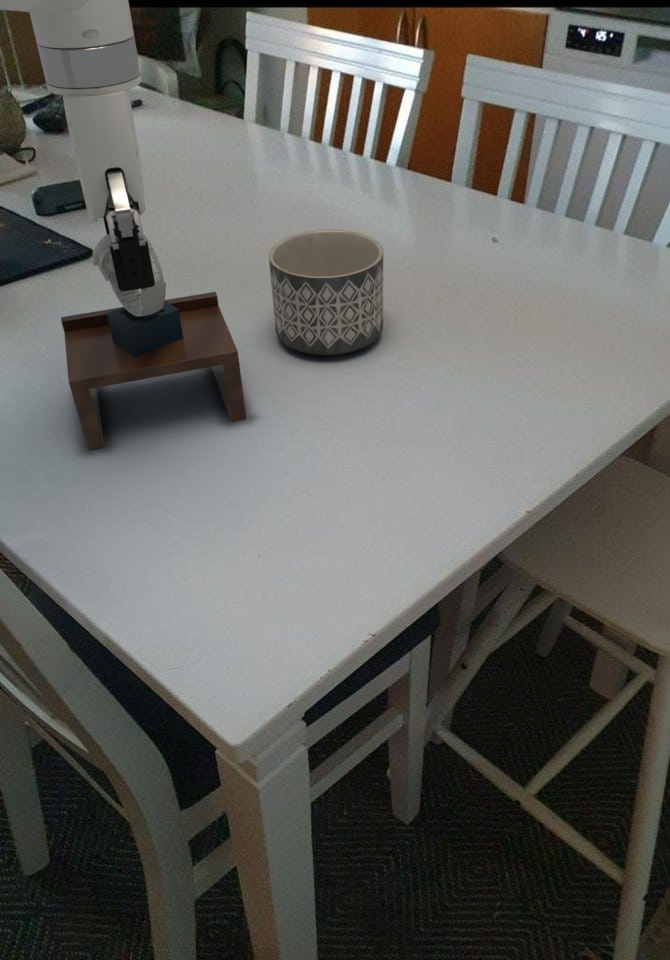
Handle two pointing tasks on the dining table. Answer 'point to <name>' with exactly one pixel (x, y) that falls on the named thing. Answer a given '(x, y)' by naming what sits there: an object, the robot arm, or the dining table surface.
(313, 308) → the planter
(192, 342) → the shelf
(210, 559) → the dining table surface
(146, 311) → the watch
